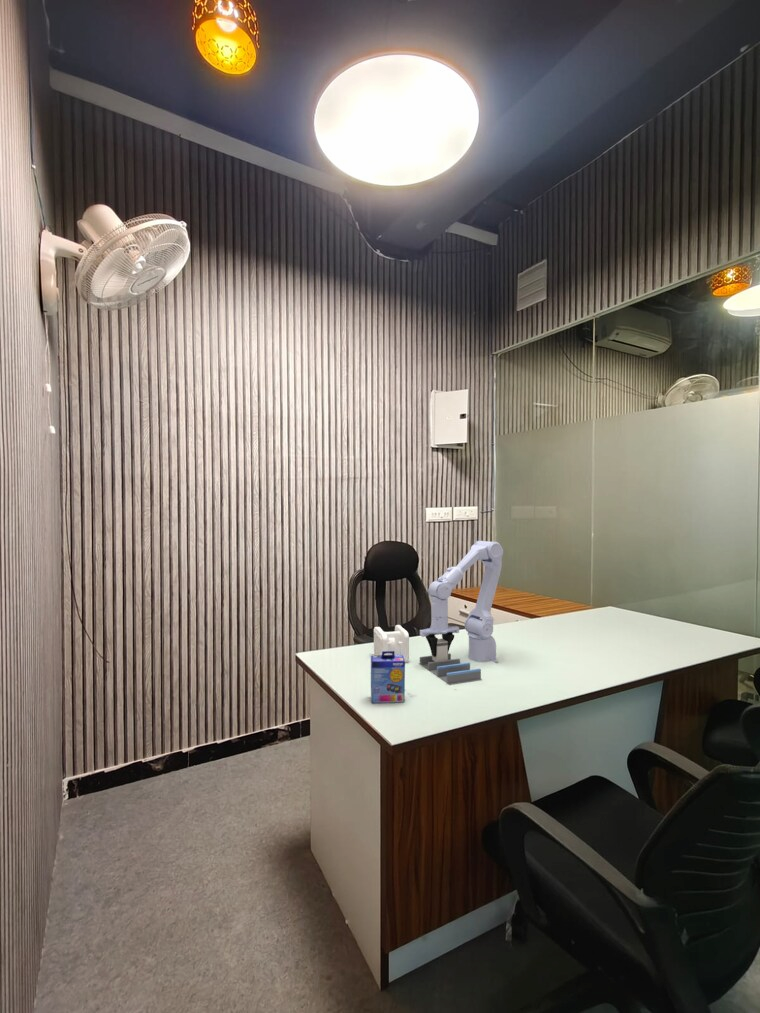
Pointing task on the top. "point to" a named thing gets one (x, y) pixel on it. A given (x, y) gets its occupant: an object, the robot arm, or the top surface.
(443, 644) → the beige block
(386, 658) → the ink cartridge box
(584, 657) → the top surface
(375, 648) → the cable organizer
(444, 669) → the grey slotted rack
